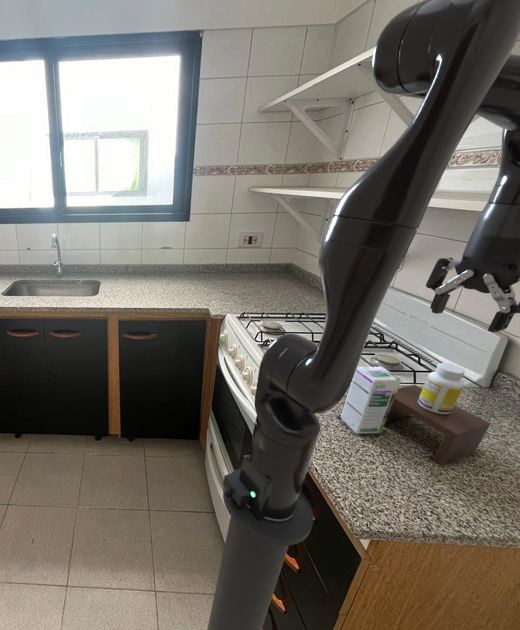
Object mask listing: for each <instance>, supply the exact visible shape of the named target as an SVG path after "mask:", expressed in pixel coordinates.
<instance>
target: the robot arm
mask: <svg viewBox="0 0 520 630" xmlns="http://www.w3.org/2000/svg"><path fill="white" fill-rule="evenodd" d="M519 38H520V0H421V1H420V0H419V2H416V3H414V4H412V5H411V6H408V7H406V8H405V9H403V10H401V11H400V12H398V14H396V15H395V16H394V17H393V18H391V19H390V20H389V22H388V23H386V25H385V27H384V28H383V30H382V31H381V33H380V34H379V35H378V38H377V40H376V43H375V45H374V48H373V52H372V57H371V73H372V77H373V80H374V82H375V84H376V86H377V87H378V88H379V89H380V90H381V91H383V92H384V93H387V94H389V95H393V96H401V97H407V98H414V99H421V100H422V101H421V104H420V106H419V107H418V109H417V111H416V113H415V115H414V117H412V120H411V121H410V123H409V125H408V126H407V128H406V129H405V130H404V131H403V133H402V134H401V135H400V137H399V138H398V139H397V140H396V141H395V143H394V144H393V145H392V146H391V147H390V148H389V149H388V150H387V151H386V152H384V154H383V155H382V156H381V157H380V158H379V159H378V160H376V161H375V162H374V163H373V164H372V165H371V166H370V167H369V168H368V169H367V170H366V171H364V173H362V175H361V176H359V178H358V179H357V180H355V182H353V184H352V185H351V186H350V187H349V188H348V189H347V190H346V191H345V192H344V193H343V195H342V196H341V197H340V199H339V200H338V201H337V204H336V205H335V207H334V209H333V212H332V214H331V216H330V220H329V221H328V225H327V226H326V230H325V232H324V235H323V237H322V240H321V243H320V246H319V251H318V268H319V269H318V270H319V276H320V280H321V286H322V291H323V296H324V303H325V321H324V327H323V330H322V334H321V337H320V341H319V342H318V343H316V342H315V341H312V340H311V339H308V338H306V337H305V336H302V335H300V334H296V333H285V334H282V335H279V336H278V337H276V338H275V339H274V340H272V342H270V344H269V345H268V347H267V348H266V350H265V351H264V353H263V355H262V358H261V361H260V364H259V369H258V373H257V381H256V389H255V395H254V410H255V413H256V418H255V421H254V422H255V423H254V427H253V431H252V434H251V435H252V436H251V440H250V445H249V449H248V454H247V455H244V456H243V457H242V462H241V466H240V468H241V471H240V476H238V474H237V473H236V472H235V473H232V472H231V473H228V474H225V475H224V476H223V482H222V485H223V488H224V487H225V488H226V489H227V490H226V491H225V493H224V494H225V496H226V497H233V499H234V500H235V501H236V503H237V504H238V505H239V506H241V505H244V504H245V506H246V507H247V508H248V509H249V511H250V512H251V513H252V515H253V516H254V517H255V518H256V520H257V521H261V520H265V521H268V522H272V523H284V522H287V521H289V520H291V519H292V518H293V516H294V514H295V511H296V505H297V502H298V499H299V500H301V494H300V492H302V489H303V486H304V483H305V479H306V476H307V473H308V470H309V466H310V463H311V460H312V458H313V454H314V451H315V447H316V445H317V441H318V439H319V435H320V433H321V423H320V419H319V418H318V416H317V415H320V414H325V413H327V412H329V411H331V410H333V409H334V408H335V407H336V406H337V405H338V404H339V403H340V402H341V401H342V399H343V398H344V396H345V395H346V393H348V391H349V389H350V386H351V383H352V379H353V377H354V374H355V371H356V369H357V367H359V363H360V360H361V357H362V355H363V351H364V349H365V346H366V343H367V341H368V339H369V338H368V337H369V335H370V332H371V329H372V327H373V324H374V321H375V319H376V317H377V314H378V312H379V310H380V307H381V306H382V302H383V301H384V299H385V297H386V294H387V292H388V290H389V288H390V286H391V284H392V282H393V280H394V278H395V276H396V275H397V272H398V270H399V268H400V266H401V264H402V263H403V261H404V259H405V258H406V255H407V253H408V250H409V249H410V247H411V245H412V243H413V240H414V238H415V236H416V234H417V232H418V229H420V225H421V223H422V220H423V219H424V216H425V213H426V211H427V209H428V207H429V204H430V202H431V200H432V198H433V195H434V194H435V192H436V189H437V187H438V185H439V183H440V181H441V179H442V177H443V175H444V173H445V171H446V169H447V167H448V165H449V163H450V161H451V159H452V157H453V155H454V153H455V151H456V149H457V148H458V146H459V145H460V143H461V140H462V139H463V137H464V135H465V133H466V131H468V128H469V126H470V125H471V123H472V121H473V119H474V118H475V116H477V117H480V118H482V119H484V120H486V121H488V122H490V123H492V124H493V125H496V126H498V127H500V128H501V129H502V133H501V150H500V151H501V152H500V161H499V162H500V163H499V168H498V169H499V171H498V175H497V178H496V180H495V183H494V185H493V187H492V189H491V192H490V194H489V197H488V199H487V202H486V204H485V206H484V207H483V208H482V211H481V212H480V214H479V216H478V217H477V220H476V222H475V225H474V227H473V229H472V232H471V234H470V236H469V239H468V241H467V243H466V245H465V248H464V250H463V252H462V257H461V259H460V260H456V259H454V258H453V257H442V258H438V259H437V261H436V263H435V265H434V267H433V269H432V271H431V272H430V275H429V278H428V279H427V281H426V284H425V287H426V288H427V289H431V290H432V291H434V296H433V299H432V301H431V304H430V309H431V313H432V314H437V315H439V314H442V313H443V312H444V311H445V309H446V307H447V304H448V302H449V300H450V298H451V294H450V293H452V292H454V291H456V290H458V289H460V288H464V289H466V290H475V291H477V292H479V293H483V294H490V295H491V298H492V299H493V300H494V301H495V302H496V304H497V307H498V309H499V311H496V313H495V315H494V316H493V318H492V320H491V323H490V324H489V326H488V328H487V331H488V332H490V333H499V332H501V331H505V330H506V329H508V327H509V325H510V324H511V321H512V319H513V317H514V316H515V315H516V314H520V301H519V302H518V301H517V299H516V293H515V291H514V288H513V285H514V284H517V283H519V282H520V54H514V53H512V52H513V50H514V48H515V46H516V44H517V42H518V39H519ZM453 269H454V270H455V272H456V274H457V276H455V277H453V278H452V279H450V280H448V281H447V282H445V283H444V281H445V279H446V277H447V275H448V273H449V272H451V271H452V270H453ZM443 283H444V284H443Z"/></svg>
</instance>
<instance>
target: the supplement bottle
mask: <svg viewBox="0 0 520 630" xmlns="http://www.w3.org/2000/svg"><path fill="white" fill-rule="evenodd" d="M465 374H466V371H465V369H463V367H461V366H458V365H455V364H453V363H446V362H440V363H438V364H437V366H436V367H435V371H431V372H430V373H428V375H427V378H426V380H425V383H424V384H423V386H422V391H421V394H420V396H419V399H418V403H419V405H420V406H422V407H423V408H425V409H426V410H429V411H431V412H434V413H438V414H449V413H451V411H452V410H453V407H454V405H456V403H457V401H458V399H459V398H460V395H461V393H462V391H463V389H464V385H465V383H464V381H463V380H462V379H463V378H464V375H465Z"/></svg>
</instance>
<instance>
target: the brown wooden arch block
mask: <svg viewBox="0 0 520 630" xmlns="http://www.w3.org/2000/svg"><path fill="white" fill-rule="evenodd" d="M422 389H423V387H420V386H418V385H416V384H412V385H408V386H403V387H400V388H399V387H398V390H397V393H396V395H395V398H394V401H393V403H392V406H391V409H390V411H389V414H388V416H387V419H386V422H385V423H388V422H391V421H395V420H398V419H402V418H406V417H409V416H412V417H414V418H415V419H417V420H419V421H420V422H422V423H424V424H426V425H427V426H429V427H431V428H432V429H434V430H436V431H438V432H439V433H441V434H443V435H444V436H443V439H442V441H441V442H440V445H439V446H438V449H437V450H436V452H435V454H434V456H433V458H432V460H433V461H434V462H436V463H437V464H439V465H440V466H442V465H445V464H449V463H450V462H453V461H456V460H459V459H462V458H465V457H468V456H470V455H474V454H475V453H476V451H477V449H478V447H479V445H480V444H481V442H482V440H483V438H484V436H485V435H486V433H487V431H488V429H489V427H490V426H491V425H492V424H491V422H489V421H487V420H485V419H483V418H481V417H479V416H477V415H476V414H473V413H471V412H470V411H467V410H465V409H464V408H462V407H460V406H457V405H456V404H455V405H454V407H453V410H452V411H451V413H449V414H438V413H434V412H431V411H429V410H426V409H425V408H423V407H422V406H420V405H419V403H418V399H419V396H420V394H421V391H422Z"/></svg>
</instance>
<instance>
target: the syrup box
mask: <svg viewBox="0 0 520 630" xmlns="http://www.w3.org/2000/svg"><path fill="white" fill-rule="evenodd" d="M401 382H402V380H401V379H400V378H399V377H398V376H397V375H396V374H395V373H393V372H391V371H390V370H388V369H386V368H384V367H383V366H381V365H380V366H363V367H362V366H357V369H356V371H355V374H354V377H353V379H352V382H351V384H350V386H349V388H348V391H347V396H346V399H345V402H344V406H343V408H342V412H341V415H340V419H341V420H342V421H343V422H344V423H345V424H346V425H347V426H348V428H350V429H351V430H352V431H353V433H355V434H356V435H360V434H362V435H363V434H382V433H383V429H384V427H385V425H386V423H387V422H386V419H387V416H388V414H389V411H390V409H391V406H392V403H393V401H394V398H395V395H396V393H397V390H398V389H399V387H400V385H401Z"/></svg>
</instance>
